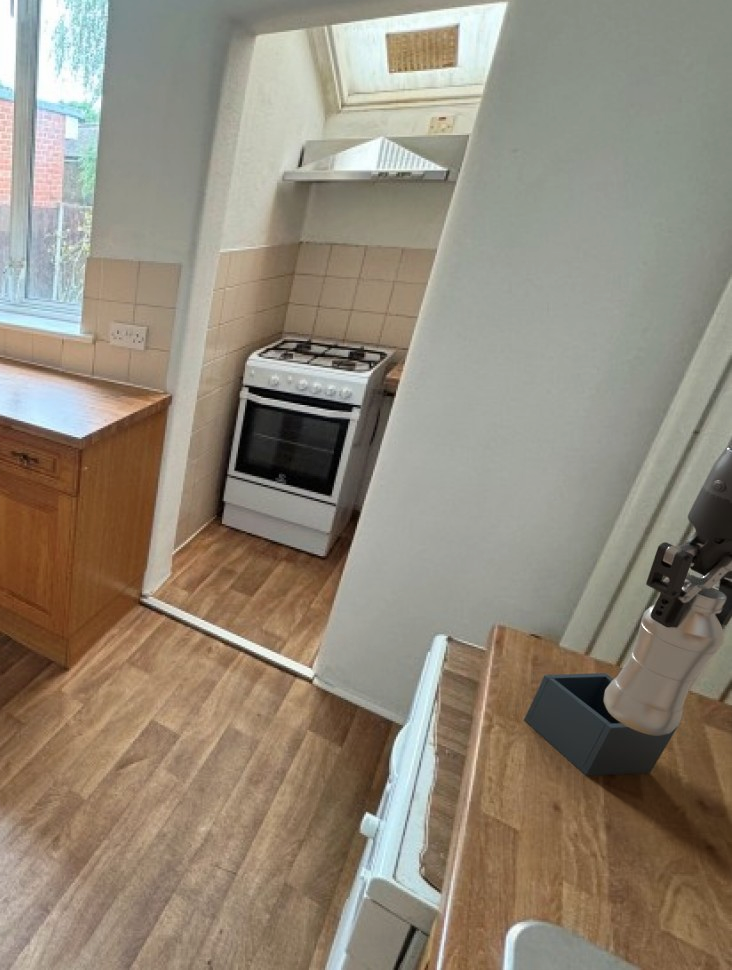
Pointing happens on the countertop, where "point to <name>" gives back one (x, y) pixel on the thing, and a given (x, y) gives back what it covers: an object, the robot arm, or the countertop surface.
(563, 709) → the bin
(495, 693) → the countertop surface
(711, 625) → the plastic bottle
